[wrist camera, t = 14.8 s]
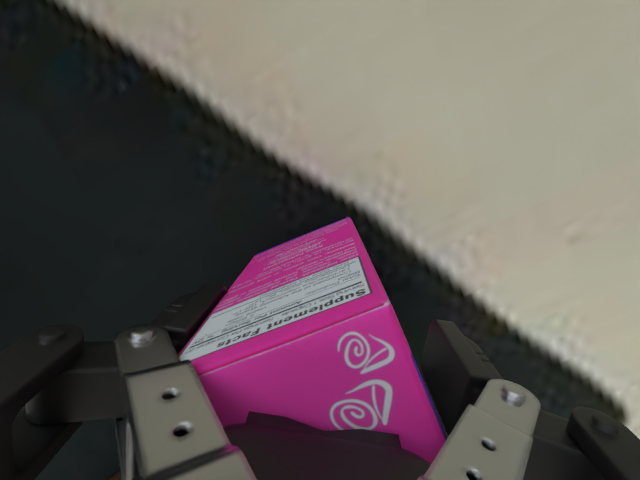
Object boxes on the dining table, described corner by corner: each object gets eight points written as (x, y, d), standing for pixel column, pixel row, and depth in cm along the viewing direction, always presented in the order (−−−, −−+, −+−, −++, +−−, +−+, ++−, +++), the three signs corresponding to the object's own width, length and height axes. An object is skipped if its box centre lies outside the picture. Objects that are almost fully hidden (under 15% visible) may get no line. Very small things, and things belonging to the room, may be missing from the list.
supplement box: (392, 307, 19) (482, 525, 8) (294, 342, 19) (246, 589, 8) (353, 211, 18) (393, 303, 6) (251, 252, 18) (127, 401, 7)
